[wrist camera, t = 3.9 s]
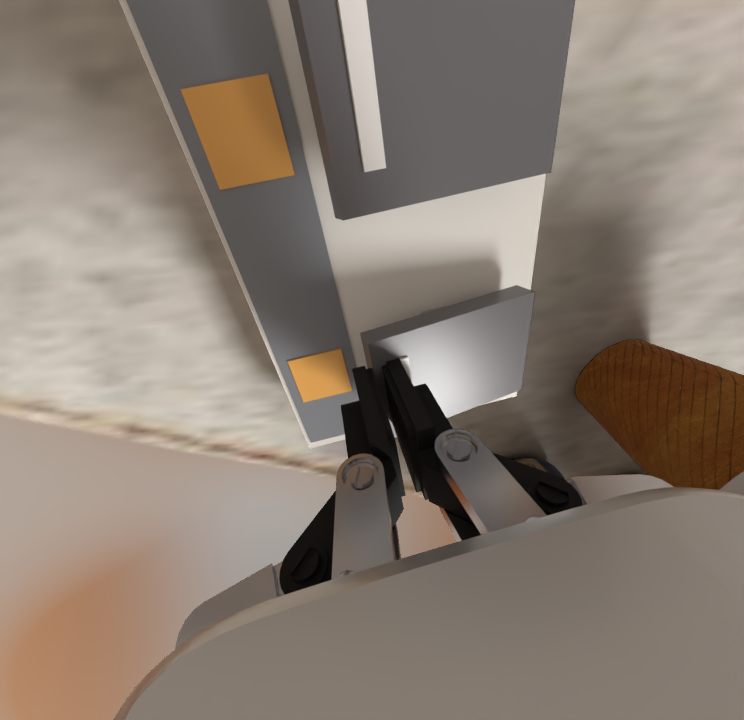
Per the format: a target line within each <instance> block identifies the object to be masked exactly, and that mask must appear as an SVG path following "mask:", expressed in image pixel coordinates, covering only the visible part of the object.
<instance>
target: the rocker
mask: <svg viewBox="0 0 744 720" xmlns="http://www.w3.org/2000/svg"><path fill="white" fill-rule="evenodd" d="M534 295H535V292H534V291H532V290H529V289H526V288H523V287H521V286H518V285H515V286H512V287H509V288H505V289H502V290H499V291H496V292H492V293H489V294H486V295H483V296H479V297H476V298H473V299H469V300H466V301H463V302H460V303H456V304H453V305H450V306H447V307H443V308H440V309H437V310H433V311H430V312H427V313H424V314H420V315H417V316H414V317H411V318H407V319H404V320H401V321H397V322H394V323H391V324H388V325H384V326H381V327H378V328H375V329H371V330H368V331H365V332H361V333H360V335H361V340H362V345H363V349H364V354H365V359H366V363H367V368H371V369H372V372H373V375H374V378H375V381H376V384H377V387H378V390H379V393H380V396H381V399H382V402H383V404H384V407H385V410H386V413H387V416H388V419H389V422H390V425H391V428H392V431H393V434H394V438H396V437H397V435H396V432H395V430H394V427H393V424H392V420H391V414H390V409H389V403H388V398H387V392H386V387H385V381H384V376H383V371H382V366H384V365H387V363H386V362H387V361H390V360H393V359H397V358H399V359H400V361H401V363H402V365H403V367H404V369H405V371H406V372H407V374H408V376H409V378H410V380H411V382H412V384H413V386H417V385H421V384H426V385H427V386H428V387H429V389H430V391H431V392H432V394H433V396H434V398H435V399H436V401H437V403H438V404H439V406H440V408H441V409H442V411H443V413H444V415H445V416H446V418H449V417H451V416H454V415H456V414H459V413H462V412H464V411H467V410H470V409H472V408H475V407H477V406H480V405H483V404H485V403H488V402H490V401H493V400H496V399H498V398H501V397H504V396H506V395H509V394H511V393H514V392H517V391H519V390H521V387H522V380H523V373H524V366H525V359H526V352H527V345H528V338H529V331H530V324H531V316H532V309H533V302H534Z"/></svg>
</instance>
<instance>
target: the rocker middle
mask: <svg viewBox="0 0 744 720" xmlns="http://www.w3.org/2000/svg"><path fill="white" fill-rule="evenodd" d="M288 2H289V6H290V11H291V16H292V20H293V25H294V29H295V34H296V39H297V43H298V48H299V53H300V57H301V62H302V67H303V71H304V76H305V80H306V85H307V90H308V94H309V99H310V104H311V108H312V113H313V117H314V122H315V127H316V131H317V136H318V141H319V145H320V150H321V155H322V159H323V164H324V168H325V173H326V178H327V182H328V187H329V192H330V196H331V201H332V205H333V210H334V215H335V218H337V219H340V220H343V221H344V220H348V219H352V218H357V217H361V216H365V215H369V214H374V213H378V212H382V211H387V210H391V209H395V208H400V207H404V206H408V205H413V204H417V203H421V202H425V201H430V200H434V199H438V198H443V197H447V196H451V195H456V194H460V193H464V192H469V191H473V190H477V189H481V188H486V187H490V186H494V185H499V184H503V183H507V182H512V181H516V180H520V179H525V178H529V177H533V176H538V175H542V174H546V173H550V172H551V169H552V162H553V155H554V148H555V141H556V134H557V126H558V119H559V112H560V105H561V98H562V91H563V84H564V77H565V69H566V62H567V55H568V48H569V41H570V34H571V27H572V19H573V12H574V5H575V0H288Z"/></svg>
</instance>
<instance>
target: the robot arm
mask: <svg viewBox="0 0 744 720" xmlns="http://www.w3.org/2000/svg"><path fill="white" fill-rule="evenodd" d="M386 363H387V365H384V366H382V371H383V376H384V381H385V387H386V392H387V398H388V403H389V409H390V414H391V420H392V424H393V427H394V430H395V432H396V435H397V438H398V441H399V444H400V447H401V450H402V452H403V455H404V458H405V461H406V464H407V467H408V470H409V473H410V475H411V478H412V481H413V484H414V487H415V490H416V492H419V491H422V493H423V496H424V498H425V500H427V499H429V501H430V502H432V503H434V504H436V505H438V506H439V508H440V510H441V513H442V515H443V517H444V519H445V520H446V522H447V524H448V526H449V527H450V529H451V531H452V533H453V534H454V537H455V538H456V540H457V542H456V543H453V544H449V545H446V546H443V547H439V548H436V549H432V550H429V551H426V552H422V553H419V554H416V555H412V556H409V557H406V558H402V559H401V554H400V546H399V539H398V530H397V524H396V522H397V520H398V518H399V516H400V514H401V513H402V511H403V509H404V508H403V503H402V498H401V497H402V496H405V491H404V485H403V480H402V474H401V469H400V463H399V458H398V452H397V447H396V442H395V438H394V434H393V431H392V428H391V425H390V422H389V419H388V416H387V413H386V410H385V407H384V404H383V402H382V399H381V396H380V393H379V390H378V387H377V384H376V381H375V378H374V375H373V372H372V369H371V368H368V369H366V368H365V366H361V367H357V368H353V369H352V372H353V376H354V380H355V384H356V389H357V393H358V397H359V401H355V402H351V403H347V404H343V405H341V412H342V419H343V425H344V432H345V439H346V446H347V453H348V459H347V460H346V461H345V462H344V463H343V464H342V465H341V466H340V468H339V470H338V473H337V479H336V491H335V492H334V494H333V495H332V496H331V498H330V499H329V500H328V501H327V503H326V504H325V505H324V507H323V508H322V509H321V510H320V512H319V513H318V514H317V515H316V517H315V518H314V520H313V521H312V522H311V523H310V525H309V526H308V527H307V528H306V530H305V531H304V532H303V533H302V535H301V536H300V537H299V539H298V540H297V541H296V543H295V544H294V545H293V546H292V548H291V549H290V550H289V552H288V553H287V555H286V556H285V558H284V560H283V561H282V562H280V563H278V564H277V565H275V566H273V565H272V564H270V565H268V566H266V567H265V568H263V569H261V570H259V571H258V572H256V573H254V574H252V575H251V576H249V577H247V578H245V579H244V580H242V581H240V582H238V583H237V584H235V585H233V586H231V587H229V588H228V589H226V590H224V591H223V592H221V593H219V594H217V595H216V596H214V597H212V598H210V599H209V600H207V601H205V602H203V603H202V604H201V605H200V606H198V607H197V608H196V609H194V611H193V612H192V613H191V614H190V615H189V616H188V618H187V619H186V620H185V622H184V624H183V626H182V628H181V630H180V632H179V634H178V638H177V643H176V648H175V650H174V651H173V652H171V653H170V654H169V655H168V656H166V657H165V658H164V659H163V660H162V661H161V662H160V663H159V664H158V665H156V666H155V667H154V668H153V669H152V670H151V671H150V672H149V673H148V674H147V675H146V676H145V677H144V678H143V679H142V680H141V682H140V683H139V684H138V685H137V686H136V687H135V688H134V690H133V691H132V692H131V693H130V695H129V696H128V697H127V699H126V700H125V702H124V704H123V705H122V707H121V708H120V710H119V711H118V713H117V715H116V716H115V718H114V720H744V495H743V494H738V493H734V492H728V491H722V490H715V489H705V488H690V487H673V486H672V485H670V484H668V483H667V482H665V481H663V480H661V479H659V478H656V477H653V476H650V475H641V474H634V475H604V476H574V477H572V478H571V480H564V479H563V478H560V477H558V476H556V475H554V474H551V473H548V472H545V471H542V470H540V469H537V468H534V467H531V466H528V465H525V464H523V463H520V462H517V461H514V460H511V459H508V458H505V457H503V456H500V455H497V454H494V453H492V452H491V451H490V450H489V449H488V448H487V447H486V446H485V444H484V443H483V442H482V441H481V440H480V439H479V438H478V437H477V436H476V435H475V434H473V433H471V432H469V431H467V430H463V429H453V428H452V426H451V425H450V423H449V421H448V420H447V418H446V416H445V415H444V413H443V411H442V409H441V408H440V406H439V404H438V403H437V401H436V399H435V398H434V396H433V394H432V392H431V391H430V389H429V387H428V386H427V385H426V384H421V385H417V386H413V384H412V382H411V380H410V378H409V376H408V374H407V372H406V371H405V369H404V367H403V365H402V363H401V361H400V359H399V358H397V359H393V360H390V361H387V362H386Z"/></svg>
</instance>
